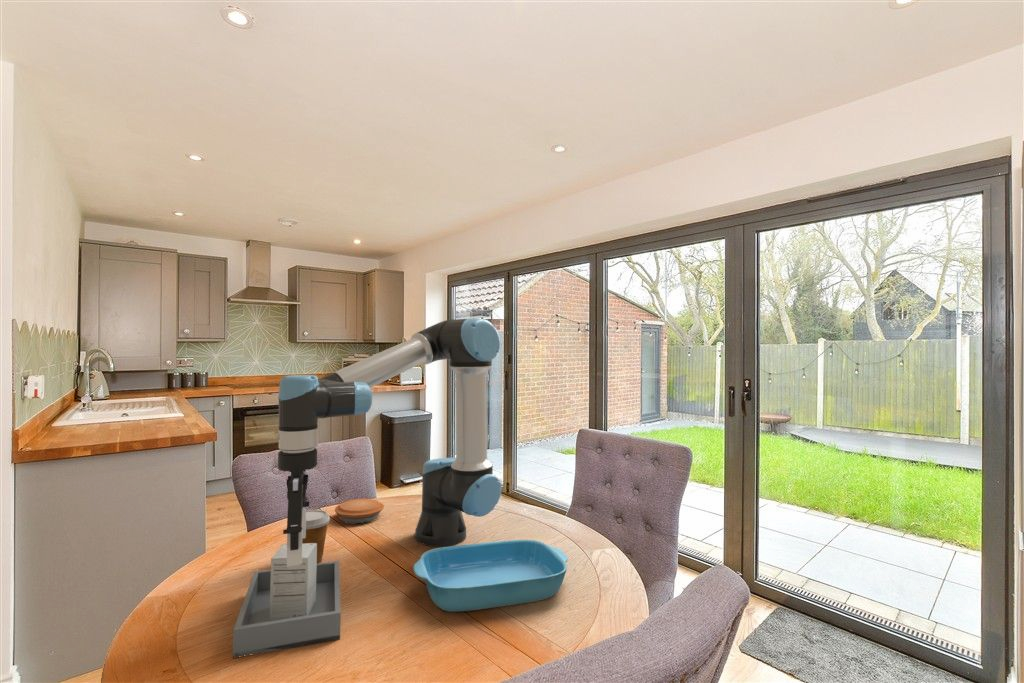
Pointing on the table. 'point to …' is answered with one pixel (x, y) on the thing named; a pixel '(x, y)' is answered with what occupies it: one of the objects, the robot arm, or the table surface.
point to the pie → (359, 510)
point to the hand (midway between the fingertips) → (296, 550)
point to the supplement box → (293, 584)
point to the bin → (269, 636)
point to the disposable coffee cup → (316, 530)
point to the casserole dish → (491, 574)
